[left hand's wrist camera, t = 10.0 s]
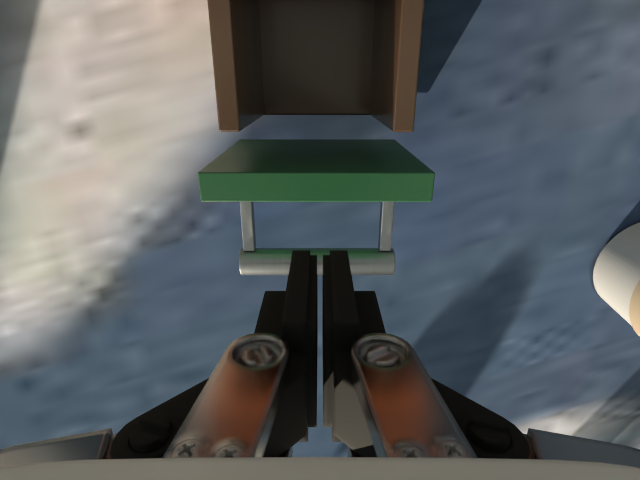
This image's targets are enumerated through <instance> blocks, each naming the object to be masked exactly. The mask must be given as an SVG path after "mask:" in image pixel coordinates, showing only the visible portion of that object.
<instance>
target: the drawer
mask: <svg viewBox="0 0 640 480" xmlns="http://www.w3.org/2000/svg"><path fill="white" fill-rule="evenodd" d="M424 1H425V0H208V10H209V21H210V32H211V44H212V55H213V66H214V77H215V89H216V100H217V111H218V122H219V130H220V131H221V132H238V131H240V130H242V129H243V128H245V127H246V126H248V125H249V124H251V123H252V122H254V121H255V120H257V119H258V118H260V117H261V116H263V115H372V116H373V117H374V118H376V119H377V120H379V121H380V122H381V123H383V124H384V125H386V126H387V127H388V128H390V129H391V130H392V131H394V132H412V131H413V130H414V119H415V107H416V95H417V83H418V72H419V60H420V48H421V36H422V24H423V13H424ZM434 177H435V173H434V172H433V171H432V170H431V169H430V168H428V167H427V166H426V165H425V164H423V163H422V162H421V161H420V160H419V159H417V158H416V157H415V156H414V155H412V154H411V153H410V152H409V151H408V150H406V149H405V148H404V147H403V146H401V145H400V144H399V143H398V142H397V141H395V140H239V141H238V142H236V143H235V144H234V145H233V146H231V147H230V148H229V149H227V150H226V151H225V152H224V153H222V154H221V155H220V156H219V157H217V158H216V159H215V160H213V161H212V162H211V163H210V164H208V165H207V166H206V167H205V168H203V169H202V170H201V171H199V172H198V179H199V188H200V197H201V201H202V202H240V213H241V226H242V239H243V248H242V249H241V250H240V254H239V270H240V273H241V275H289V269H290V263H291V257H292V251H293V250H310V255H317V275H323V255H330V250H347V251H348V257H349V263H350V269H351V275H393V274H394V270H395V254H394V250H393V249H392V248H391V239H392V225H393V212H394V202H431V201H432V195H433V186H434ZM253 202H381V209H380V226H379V242H378V247H379V248H256V239H255V223H254V207H253Z"/></svg>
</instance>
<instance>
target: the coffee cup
mask: <svg viewBox="0 0 640 480" xmlns="http://www.w3.org/2000/svg"><path fill="white" fill-rule="evenodd" d="M593 282H594V286H595V289H596V291H597V293H598V294H599V295H600V297H601V298H602V299H604V300H605V301H606V302H607V303H608V304H609V305H610V306H611V307H612V308H613V309H614V310H615V311H616V312H618V313H619V314H620V315H621V316H622V317H623V318H624V319H625V320H626V321H627V322H628V323H629V324H630V325H632V327H633V329H634V330H635V332H636V333H637V334H638V335H639V336H640V223H637V224H634V225H632V226H630V227H628V228H626V229H625V230H623V231H622V232H620V233H619V234H617V235H616V236H615V237H614V238H613V239H612V240H611V241H610V242H609V243H608V244H607V245H606V246H605V247H604V249H603V250H602V251H601V253H600V255H599V257H598V259H597V261H596V263H595V267H594V272H593Z"/></svg>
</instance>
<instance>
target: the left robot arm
mask: <svg viewBox="0 0 640 480" xmlns="http://www.w3.org/2000/svg"><path fill="white" fill-rule="evenodd" d="M316 426H317V255H310V250H293V251H292V257H291V263H290V269H289V275H288V282H287V288H286V291H265V294H264V298H263V302H262V305H261V309H260V313H259V317H258V321H257V325H256V329H255V332H254V334H248V335H245V336H243V337H240V338H238V339H237V340H235V341H234V342H232V343H231V344H230V345H229V346H228V348H227V349H226V351H225V352H224V354H223V356H222V357H221V359H220V361H219V363H218V364H217V366H216V368H215V369H214V371H213V373H212V374H211V376H210V378H208V379H206V380H205V381H203V382H201V383H199V384H197V385H195V386H194V387H192V388H190V389H188V390H186V391H184V392H183V393H181V394H179V395H177V396H175V397H173V398H172V399H170V400H168V401H166V402H164V403H162V404H161V405H159V406H157V407H155V408H153V409H151V410H150V411H148V412H146V413H144V414H142V415H140V416H139V417H137V418H135V419H134V420H132V421H131V422H129V423H128V424H126V425H125V426H124V427H123V428H122V429H121V430H120V431H119V432H118V433H117V434H113V433H112V429H111V428H110V429H105V430H99V431H93V432H88V433H82V434H77V435H71V436H65V437H60V438H54V439H48V440H43V441H37V442H31V443H26V444H20V445H15V446H11V447H8V448H4V449H1V450H0V480H640V450H639V449H636V448H632V447H629V446H625V445H620V444H614V443H609V442H603V441H597V440H592V439H586V438H580V437H575V436H569V435H563V434H558V433H552V432H547V431H541V430H535V429H530V428H529V429H528V433H527V434H523V433H522V432H521V431H520V430H519V429H518V428H517V427H516V426H515V425H514V424H512V423H511V422H509V421H508V420H506V419H505V418H503V417H501V416H500V415H498V414H496V413H494V412H492V411H490V410H489V409H487V408H485V407H483V406H481V405H479V404H478V403H476V402H474V401H472V400H470V399H468V398H467V397H465V396H463V395H461V394H459V393H457V392H456V391H454V390H452V389H450V388H448V387H446V386H445V385H443V384H441V383H439V382H437V381H435V380H434V379H432V378H430V376H429V374H428V373H427V371H426V369H425V368H424V366H423V364H422V363H421V361H420V359H419V357H418V356H417V354H416V352H415V351H414V349H413V348H412V346H411V345H410V344H409V343H408V342H406V341H405V340H403V339H402V338H400V337H397V336H395V335H392V334H386V332H385V329H384V325H383V321H382V317H381V313H380V309H379V305H378V302H377V298H376V294H375V291H354V288H353V282H352V275H351V269H350V263H349V257H348V251H347V250H330V255H323V426H324V427H332V442H343V443H345V444H346V445H347V446H348V449H347V454H348V457H292V454H293V449H292V446H293V445H294V444H295V443H297V442H308V427H316Z"/></svg>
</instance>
